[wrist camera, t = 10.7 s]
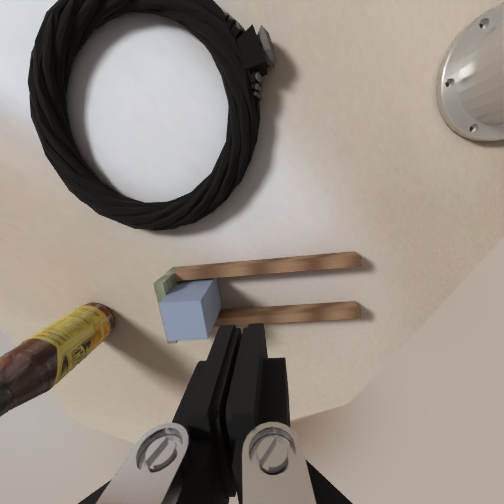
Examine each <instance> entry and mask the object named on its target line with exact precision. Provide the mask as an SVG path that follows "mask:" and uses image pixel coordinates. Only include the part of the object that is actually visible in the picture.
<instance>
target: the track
mask: <svg viewBox="0 0 504 504" xmlns="http://www.w3.org/2000/svg"><path fill="white" fill-rule="evenodd" d="M358 266H361V257H360V256H359V255H358V254H357V253H356V252H343V253H332V254H320V255H309V256H297V257H286V258H274V259H263V260H251V261H240V262H228V263H217V264H205V265H194V266H182V267H173V268H172V269H170V270H169V271H168V272H167V273H166V274H164V275H163V276H162V277H161V278H160V279H158V280H157V281H156V282H155V283H154V288H155V292H156V296H157V300H158V305H159V302H160V301H161V300H162V299H163V298H164V297H165V296H166V295H167V294H168V293H169V292H170V291H171V290H172V289H173V288H174V287H175V286H176V285H177V284H178V283H179V281H183V280H195V279H208V278H220V277H233V276H245V275H258V274H270V273H283V272H295V271H308V270H320V269H333V268H345V267H358ZM159 309H160V307H159ZM160 313H161V312H160ZM161 317H162V316H161ZM356 318H361V309H360V307H359V306H358V304H357V303H356V301H351V302H335V303H319V304H304V305H288V306H272V307H257V308H241V309H226V310H220V312H219V314H218V317H217V319H216V321H215V324H214V326H220V325H233V324H235V325H249V324H250V323H263V324H267V323H285V322H303V321H321V320H339V319H356ZM162 321H163V320H162ZM163 326H164V324H163ZM164 330H165V329H164ZM165 334H166V333H165ZM166 338H167V337H166ZM167 342H168V343H177V342H178V341H167Z"/></svg>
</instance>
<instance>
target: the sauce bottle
mask: <svg viewBox="0 0 504 504" xmlns="http://www.w3.org/2000/svg"><path fill="white" fill-rule="evenodd" d="M113 327H114V317H113V315H112V314H111V312H110V311H109V310H108V309H107V308H106V307H105V306H103V305H100V304H98V303H88V304H86V305H84V306H81V307H79V308H77V309H75V310H74V311H72V312H71V313H69V314H67V315H66V316H64V317H62V318H61V319H59V320H58V321H56V322H54V323H53V324H51V325H49V326H48V327H46V328H45V329H43V330H41V331H40V332H38V333H36V334H35V335H33V336H32V337H30V338H28V339H27V340H25V341H24V342H22V343H21V344H20V345H19V346H17V347H16V348H14V349H13V350H11V351H9V352H8V353H6V354H4V355H3V356H2V357H0V416H2V415H3V414H5V413H6V412H8V411H9V410H11V409H13V408H15V407H17V406H19V405H21V404H23V403H25V402H27V401H29V400H31V399H33V398H35V397H37V396H38V395H41V394H43V393H45V392H47V391H48V390H50V389H51V388H52V387H53V386H54V385H55V384H57V383H58V382H59V381H60V380H61V379H62V378H63V377H64V376H65V375H66V374H67V373H68V372H70V371H71V370H72V369H73V368H74V367H75V366H76V365H77V364H79V363H80V362H81V361H82V360H83V359H84V358H85V357H86V356H87V355H88V354H89V353H91V352H92V351H93V350H94V349H95V348H96V347H97V346H98V345H99V344H100V343H101V342H103V341H104V340H105V339H106V338H107V336H108V335H109V334H110V333H111V332H112V330H113Z"/></svg>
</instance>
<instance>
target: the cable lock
mask: <svg viewBox="0 0 504 504" xmlns="http://www.w3.org/2000/svg"><path fill="white" fill-rule="evenodd" d="M130 12H138V13H150V14H156V15H159V16H163V17H167V18H170V19H174V20H176V21H177V22H179V23H181V24H182V25H183V26H184V27H186V28H187V29H188V30H189V31H190V32H191V33H192V34H193V35H194V36H195V37H196V38H197V39H199V40H200V41H201V42H202V43H203V44H204V45H205V46H206V48H207V49H208V51H209V52H210V53H211V55H212V57H213V59H214V61H215V64H216V66H217V68H218V70H219V72H220V74H221V76H222V80H223V84H224V87H225V91H226V95H227V99H228V105H229V110H228V124H227V136H226V143H225V145H224V147H223V149H222V151H221V153H220V156H219V158H218V160H217V162H216V164H215V166H214V169H213V171H212V173H211V174H210V175H209V176H208V177H207V178H206V179H205V180H203V181H202V182H201V183H200V184H199V185H198V186H197V187H196V188H195V189H194V190H193V191H192V192H190V193H188V194H186V195H184V196H181V197H179V198H177V199H174V200H172V201H168V202H152V203H144V202H141V201H137V200H134V199H131V198H127V197H124V196H121V195H120V194H118V193H117V192H115V191H114V190H112V189H111V188H109V187H108V186H107V185H105V184H104V183H102V182H101V181H100V180H99V179H98V177H97V176H96V175H95V174H94V173H93V172H92V171H91V170H90V169H89V167H88V166H87V165H86V163H85V162H84V160H83V159H82V157H81V155H80V153H79V151H78V149H77V147H76V145H75V142H74V140H73V137H72V134H71V131H70V126H69V120H68V115H67V107H66V89H67V84H68V79H69V74H70V69H71V65H72V62H73V59H74V57H75V56H76V54H77V53H78V51H79V50H80V48H81V47H82V45H83V44H84V42H85V41H86V39H87V38H88V37H89V36H90V35H91V34H92V32H93V31H94V30H96V29H97V28H99V27H100V26H102V25H103V24H105V23H106V22H108V21H109V20H111V19H114V18H116V17H119V16H121V15H123V14H126V13H130ZM275 61H276V59H275V53H274V48H273V45H272V42H271V39H270V36H269V33H268V32H267V31H266V30H265V29H264V27H263V26H262V25H261V27H260V29H259V32H258V34H257V35H256V32H255V30H254V27H253V24H252V25H251V26H250V27H249V28H248V29H247V30H246V31H245V29H244V28H243V27H242V26H241V25H240V24H239V23H238V22H237V21H236V20H235V19H234V18H232V17H231V16H230V15H229V14H228V13H224V12H223V11H222V9H221V8H220V7H219V6H218V5H217V4H216V3H215V2H214V1H213V0H58V1H57V2H56V3H55V4H54V5H53V6H52V7H51V8H50V9H49V10H48V11H47V12H46V15H45V17H44V20H43V22H42V25H41V27H40V30H39V32H38V35H37V37H36V40H35V45H34V48H33V50H32V52H31V60H30V68H29V76H28V86H29V92H30V110H31V118H32V121H33V123H34V126H35V128H36V131H37V133H38V136H39V138H40V141H41V144H42V147H43V150H44V152H45V155H46V157H47V158H48V160H49V161H50V163H51V164H52V166H53V167H54V169H55V170H56V172H57V173H58V175H59V176H60V178H61V179H62V180H63V182H64V183H65V185H66V186H67V188H68V189H69V190H70V191H71V192H72V193H73V194H74V195H75V196H76V197H77V198H78V199H79V200H81V201H82V202H84V203H85V204H87V205H88V206H89V207H91V208H92V209H93V210H94V211H95V212H97V213H98V214H99V215H102V216H104V217H107V218H109V219H112V220H114V221H117V222H119V223H121V224H124V225H127V226H129V227H132V228H134V229H150V230H167V229H175V228H177V227H180V226H183V225H187V224H192V223H195V222H197V221H199V220H200V219H202V218H204V217H205V216H207V215H209V214H210V213H212V212H213V211H214V210H216V209H217V208H218V207H219V206H220V205H221V204H222V203H223V202H224V201H226V200H227V198H228V197H229V196H230V194H231V193H232V192H233V190H234V189H235V188H236V187H237V185H238V184H239V183H240V182H241V181H242V178H243V176H244V174H245V172H246V170H247V168H248V165H249V163H250V161H251V158H252V154H253V151H254V147H255V144H256V142H257V136H258V129H259V122H260V107H259V102H260V101H261V96H260V95H261V86H262V76H263V75H266V74H267V67H268V66H270V67H273V68H274V66H275Z"/></svg>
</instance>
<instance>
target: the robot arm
mask: <svg viewBox="0 0 504 504" xmlns="http://www.w3.org/2000/svg"><path fill="white" fill-rule="evenodd" d="M445 84H446V85H447V86H446V85H445ZM436 91H437V103H438V106H439V110H440V113H441V115H442V117H443V118H444V120H445V122H446V123H447V124H448V126H449V127H450V128H451V129H452V130H453V131H455V132H456V133H457V134H459V135H460V136H462V137H465V138H467V139H470V140H475V141H481V142H485V141H497V140H503V139H504V3H502V4H500V5H498V6H496V7H494V8H492V9H490V10H488V11H487V12H486V13H484V14H483V15H481V16H480V17H478V18H477V19H476V20H475V21H474V22H472V23H471V24H470V25H469V26H468V27H466V28H465V29H464V30H463V32H462V33H461V34H460V35H459V36H458V37H457V38H456V39H455V41H454V42H453V44H452V45H451V47H450V49H449V50H448V52H447V54H446V56H445V58H444V60H443V62H442V64H441V68H440V71H439V75H438V80H437V90H436ZM236 491H237V495H238V501H239V504H352V503H351V502H350V501H349V500H348V499H347V498H346V497H345V496H344V495H343V494H342V493H340V491H339V490H337V489H336V488H335V487H334V486H333V485H332V484H331V483H330V482H329V481H328V480H327V479H326V478H325V477H324V476H323V475H322V474H321V473H319V472H318V471H317V470H316V469H315V468H314V467H313V466H312V465H311V464H310V463H309V462H308V461H307V460H306V459H305V456H304V452H303V448H302V444H301V442H300V439H299V437H298V436H297V434H296V433H295V432H294V431H293V430H292V429H291V428H290V412H289V394H288V381H287V371H286V361H285V358H268V355H267V347H266V339H265V331H264V324H263V323H250V324H249V325H248V327H247V328H244V329H243V333H242V334H241V329H240V328H236V326H235V324H233V325H220V327H219V330H218V332H217V335H216V337H215V340H214V343H213V345H212V348H211V350H210V353H209V355H208V358H207V360H206V361H199V362H198V364H197V366H196V368H195V370H194V373H193V375H192V377H191V379H190V382H189V384H188V386H187V389H186V391H185V393H184V396H183V398H182V400H181V402H180V405H179V407H178V409H177V412H176V414H175V416H174V419H173V421H172V423H165V424H161V425H158V426H156V427H155V428H153V429H151V430H149V431H148V432H147V433H146V434H145V435H143V436H142V437H141V438H140V440H139V441H138V442H137V443H136V445H135V446H134V448H133V449H132V450H131V452H130V454H129V455H128V457H127V458H126V459H125V461H124V462H123V464H122V466H121V467H120V468H119V470H118V471H117V473H116V474H115V476H114V477H113V479H112V480H110V481H109V482H107V483H106V484H105V485H103V486H102V487H101V488H99V489H98V490H96V491H95V492H94V493H92V494H91V495H89V496H88V497H87V498H85V499H84V500H82V501H81V502H80V503H78V504H228V503H229V497H235V495H236Z"/></svg>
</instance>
